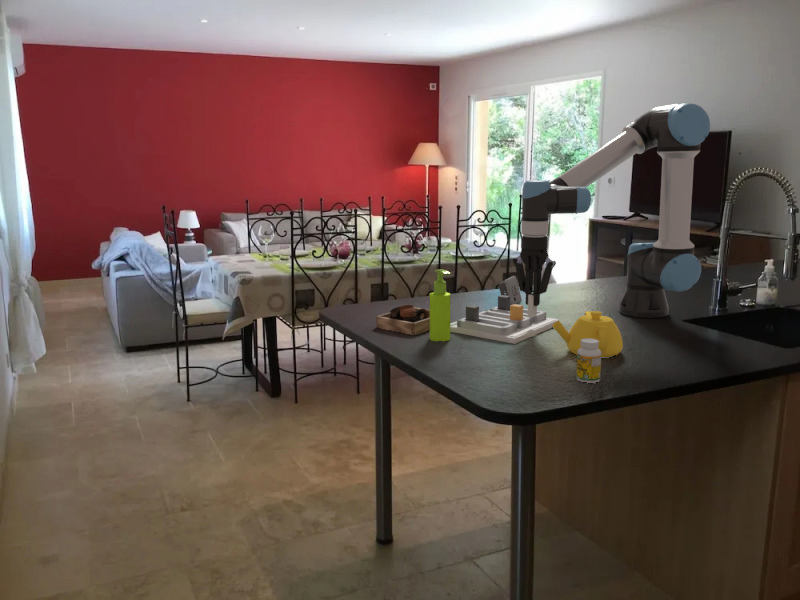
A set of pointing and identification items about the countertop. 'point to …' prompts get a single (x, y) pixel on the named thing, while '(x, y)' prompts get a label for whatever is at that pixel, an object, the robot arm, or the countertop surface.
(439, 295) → the soap dispenser
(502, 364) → the countertop surface
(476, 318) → the block
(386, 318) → the wooden tray
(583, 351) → the supplement bottle
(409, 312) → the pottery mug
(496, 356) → the countertop surface
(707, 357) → the countertop surface
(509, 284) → the electrical switch
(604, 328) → the teapot
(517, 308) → the block
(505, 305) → the block
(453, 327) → the panel
